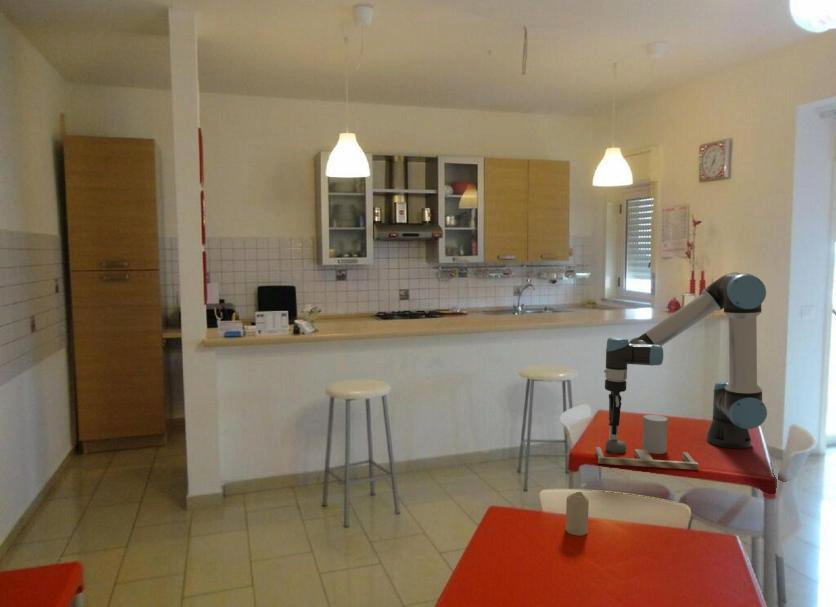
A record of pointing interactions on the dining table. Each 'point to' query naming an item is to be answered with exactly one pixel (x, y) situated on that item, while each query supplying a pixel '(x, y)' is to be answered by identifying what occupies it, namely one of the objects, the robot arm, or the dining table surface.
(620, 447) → the puck
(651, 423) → the grey cylinder
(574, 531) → the candle
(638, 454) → the slot rack
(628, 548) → the dining table surface
